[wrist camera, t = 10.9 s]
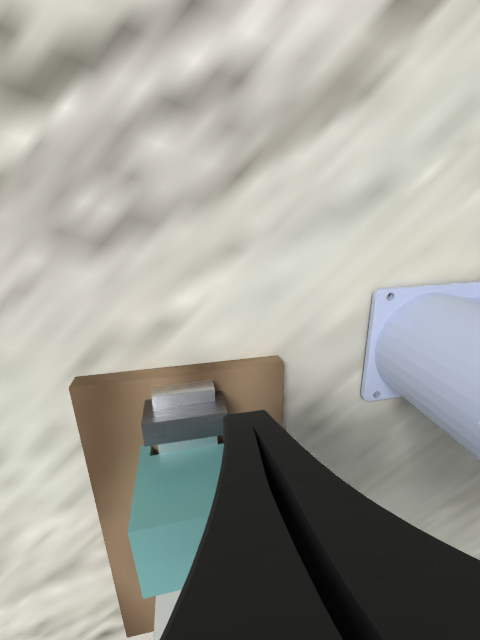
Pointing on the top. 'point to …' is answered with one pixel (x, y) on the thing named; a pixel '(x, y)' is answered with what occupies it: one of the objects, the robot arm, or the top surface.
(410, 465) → the top surface
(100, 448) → the mounting board
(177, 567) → the teal module
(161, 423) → the steel rail
